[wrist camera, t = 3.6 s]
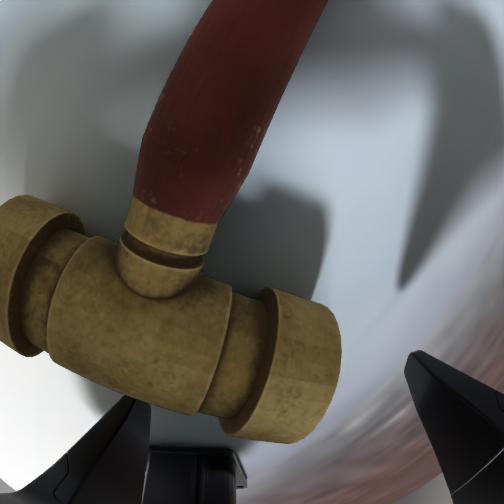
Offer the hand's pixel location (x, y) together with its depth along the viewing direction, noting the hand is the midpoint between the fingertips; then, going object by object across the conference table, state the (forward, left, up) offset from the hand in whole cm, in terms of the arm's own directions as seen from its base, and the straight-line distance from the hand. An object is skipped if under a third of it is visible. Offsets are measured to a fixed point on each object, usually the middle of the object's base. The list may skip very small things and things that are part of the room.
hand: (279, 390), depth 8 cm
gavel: (+10, 0, -3) cm, 10 cm away
